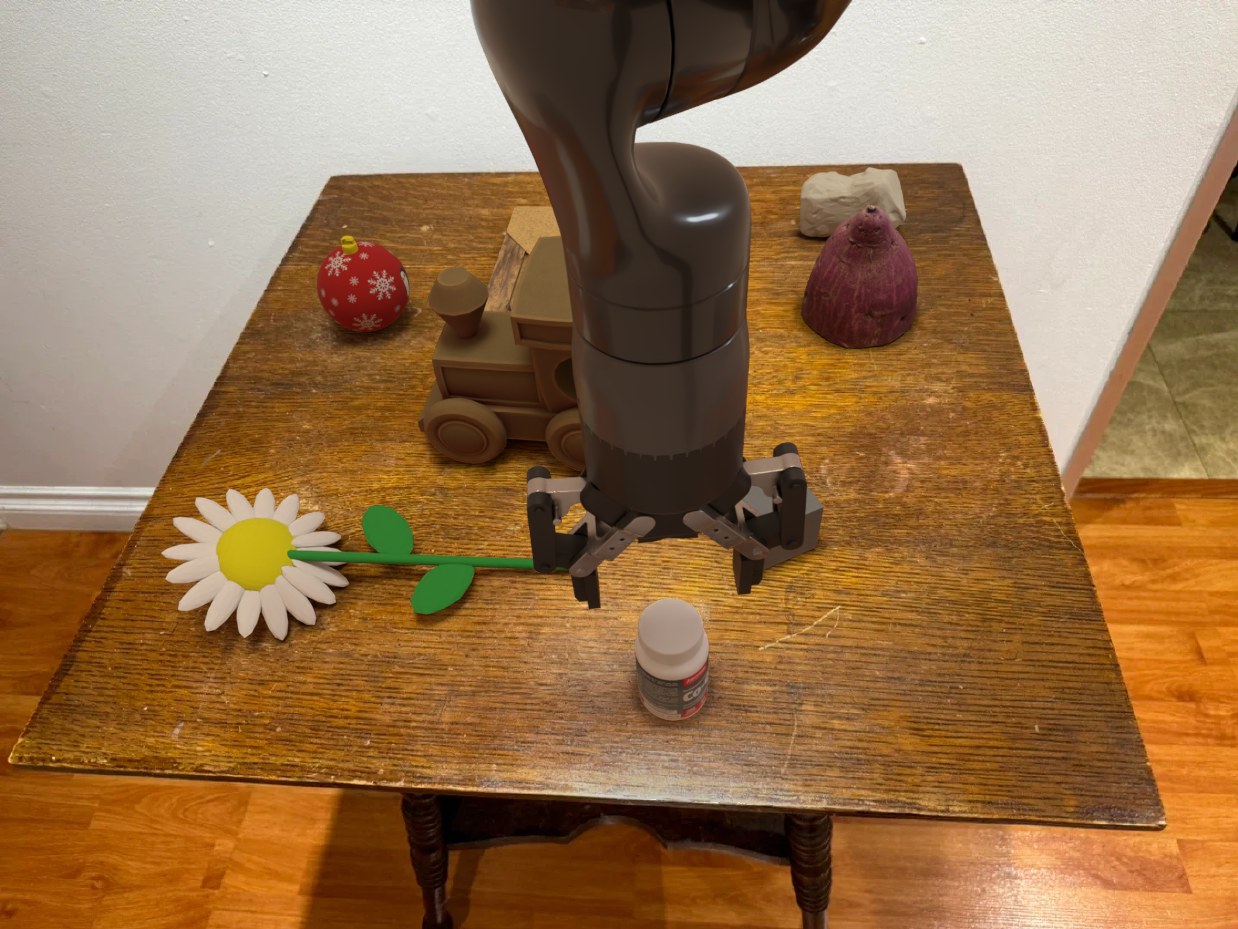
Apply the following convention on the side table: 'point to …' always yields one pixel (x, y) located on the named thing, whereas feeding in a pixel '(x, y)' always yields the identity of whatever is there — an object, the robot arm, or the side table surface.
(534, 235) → the picture frame
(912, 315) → the vegetable
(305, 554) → the decorative flower
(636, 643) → the pill bottle
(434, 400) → the wooden toy train
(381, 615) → the side table surface
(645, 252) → the robot arm
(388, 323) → the christmas ornament
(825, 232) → the decorative stone
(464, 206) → the side table surface
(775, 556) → the grey block
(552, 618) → the side table surface
